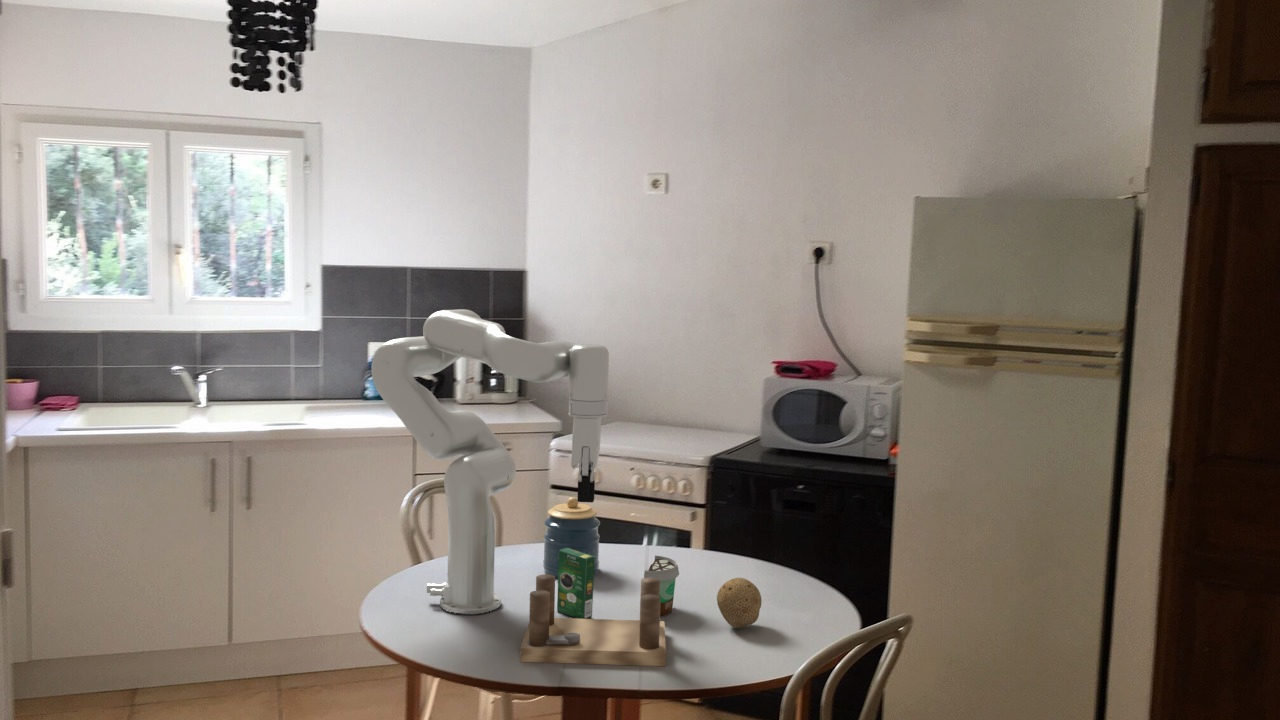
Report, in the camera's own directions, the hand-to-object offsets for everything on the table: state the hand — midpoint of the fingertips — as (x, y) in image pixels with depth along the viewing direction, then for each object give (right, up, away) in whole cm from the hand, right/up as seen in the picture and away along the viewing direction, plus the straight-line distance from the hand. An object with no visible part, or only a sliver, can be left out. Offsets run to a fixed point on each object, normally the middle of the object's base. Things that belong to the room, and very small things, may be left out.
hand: (585, 501), depth 195 cm
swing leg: (-5, -24, -14) cm, 28 cm away
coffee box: (-3, -25, +8) cm, 26 cm away
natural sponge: (+30, -26, +4) cm, 40 cm away
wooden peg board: (+2, -26, -9) cm, 28 cm away
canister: (-6, -22, +37) cm, 43 cm away
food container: (+15, -25, +12) cm, 32 cm away
